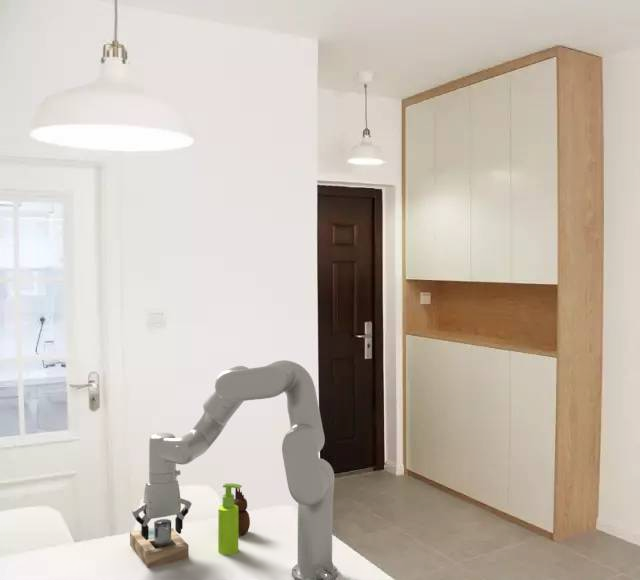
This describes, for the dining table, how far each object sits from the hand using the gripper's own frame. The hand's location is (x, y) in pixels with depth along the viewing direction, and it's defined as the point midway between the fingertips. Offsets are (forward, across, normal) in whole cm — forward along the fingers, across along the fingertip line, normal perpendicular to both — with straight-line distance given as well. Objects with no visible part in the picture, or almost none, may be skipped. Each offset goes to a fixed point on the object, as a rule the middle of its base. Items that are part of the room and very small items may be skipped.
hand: (162, 535), depth 200 cm
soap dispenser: (+6, -19, +6) cm, 21 cm away
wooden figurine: (+6, -27, -5) cm, 28 cm away
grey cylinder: (+6, 0, 0) cm, 6 cm away
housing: (+6, 0, -4) cm, 7 cm away
